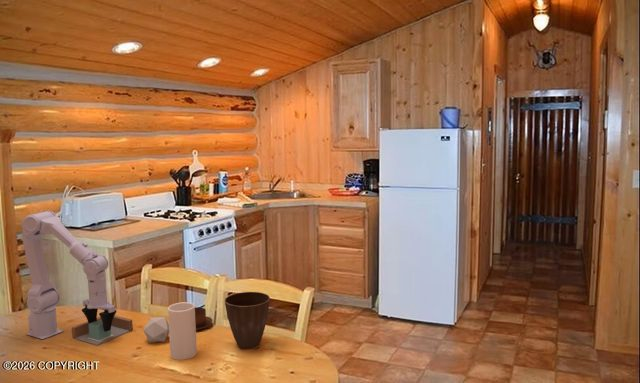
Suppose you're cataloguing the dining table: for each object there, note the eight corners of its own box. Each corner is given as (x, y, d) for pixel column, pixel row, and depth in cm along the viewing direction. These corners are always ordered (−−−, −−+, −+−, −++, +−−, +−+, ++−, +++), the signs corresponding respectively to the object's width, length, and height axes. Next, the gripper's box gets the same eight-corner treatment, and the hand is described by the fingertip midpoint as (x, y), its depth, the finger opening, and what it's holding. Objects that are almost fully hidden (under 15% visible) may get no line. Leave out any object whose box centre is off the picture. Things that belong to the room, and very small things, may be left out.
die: (156, 349, 172) (172, 323, 174) (134, 336, 173) (151, 310, 175) (163, 348, 180) (178, 323, 182) (142, 335, 181) (158, 310, 183)
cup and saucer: (176, 324, 193) (175, 308, 192) (208, 318, 198) (208, 303, 197) (182, 335, 182) (181, 318, 181) (216, 329, 187) (215, 313, 186)
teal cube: (89, 337, 180) (88, 323, 179) (101, 332, 184) (101, 319, 183) (98, 340, 177) (97, 326, 177) (111, 335, 182) (110, 321, 181)
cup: (201, 350, 169) (199, 303, 167) (187, 361, 162) (185, 312, 160) (180, 347, 172) (177, 301, 170) (165, 357, 164) (162, 309, 162)
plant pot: (235, 334, 182) (234, 290, 180) (276, 337, 179) (275, 292, 177) (219, 352, 168) (217, 304, 166) (263, 355, 165) (261, 307, 163)
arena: (72, 338, 181) (71, 327, 180) (109, 323, 194) (108, 313, 193) (96, 345, 174) (96, 334, 174) (132, 330, 187) (132, 319, 187)
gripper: (73, 291, 179) (76, 328, 181) (101, 297, 172) (104, 336, 173) (91, 285, 185) (94, 322, 187) (119, 291, 178) (121, 329, 180)
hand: (100, 328), depth 180 cm, fingers open, 7 cm apart
